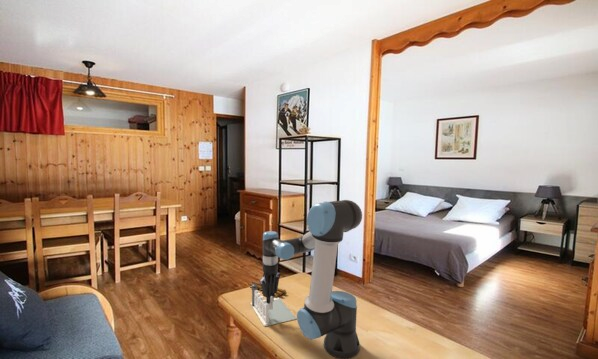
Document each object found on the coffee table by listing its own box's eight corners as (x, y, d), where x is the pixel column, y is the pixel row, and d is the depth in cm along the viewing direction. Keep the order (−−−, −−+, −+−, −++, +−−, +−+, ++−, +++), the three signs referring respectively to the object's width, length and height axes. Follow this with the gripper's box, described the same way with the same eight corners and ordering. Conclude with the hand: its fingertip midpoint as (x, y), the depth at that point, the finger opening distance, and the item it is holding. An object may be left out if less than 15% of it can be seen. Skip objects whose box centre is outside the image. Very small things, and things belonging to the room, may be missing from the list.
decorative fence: (277, 298, 169) (288, 292, 178) (277, 295, 169) (288, 289, 177) (245, 288, 183) (256, 282, 191) (245, 284, 183) (256, 279, 191)
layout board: (296, 319, 149) (296, 318, 149) (264, 326, 142) (264, 326, 142) (278, 297, 171) (278, 296, 171) (249, 303, 164) (249, 302, 164)
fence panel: (254, 305, 159) (254, 289, 159) (257, 305, 160) (257, 289, 159) (266, 322, 143) (266, 305, 143) (269, 322, 144) (269, 304, 143)
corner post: (258, 306, 161) (258, 285, 160) (252, 307, 160) (252, 286, 159) (256, 303, 164) (256, 283, 163) (250, 304, 163) (250, 284, 162)
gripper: (274, 257, 155) (273, 301, 157) (255, 264, 145) (255, 311, 147) (284, 261, 150) (284, 306, 152) (265, 268, 140) (265, 316, 143)
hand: (270, 308), depth 150 cm, fingers closed
